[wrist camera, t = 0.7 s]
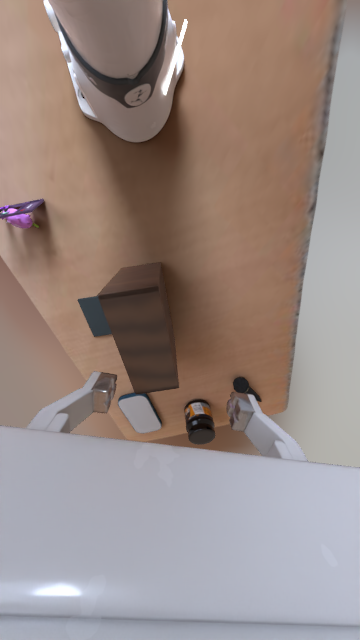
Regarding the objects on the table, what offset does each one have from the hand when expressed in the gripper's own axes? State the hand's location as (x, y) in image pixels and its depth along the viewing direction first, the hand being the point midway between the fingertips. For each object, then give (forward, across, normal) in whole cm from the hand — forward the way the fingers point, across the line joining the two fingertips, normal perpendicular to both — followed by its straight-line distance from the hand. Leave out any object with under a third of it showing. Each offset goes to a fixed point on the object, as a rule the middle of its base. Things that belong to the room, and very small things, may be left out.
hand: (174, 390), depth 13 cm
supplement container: (+44, -18, +50) cm, 69 cm away
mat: (+38, +18, +14) cm, 44 cm away
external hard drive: (+43, +4, +55) cm, 70 cm away
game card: (+35, +34, -8) cm, 49 cm away
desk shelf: (+39, +6, +9) cm, 40 cm away
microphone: (+44, -35, +38) cm, 68 cm away
